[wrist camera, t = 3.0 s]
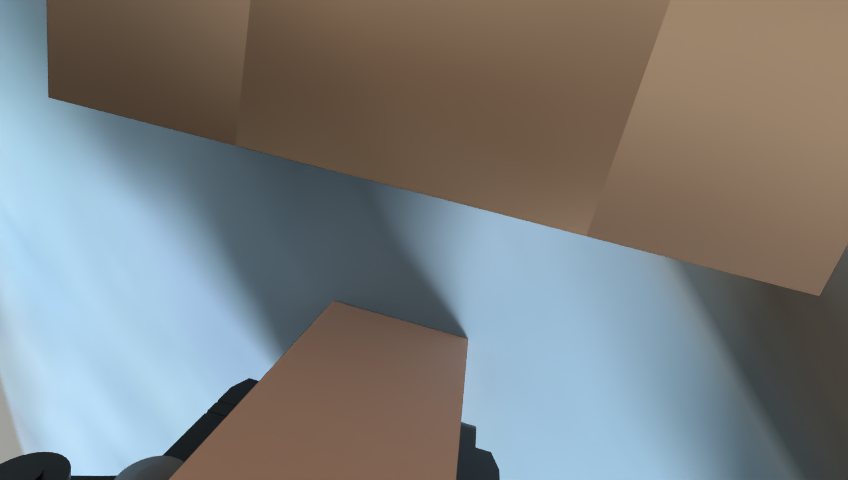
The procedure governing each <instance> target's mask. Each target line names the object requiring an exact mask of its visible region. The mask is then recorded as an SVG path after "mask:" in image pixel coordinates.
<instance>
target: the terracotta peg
mask: <svg viewBox="0 0 848 480" xmlns="http://www.w3.org/2000/svg"><path fill="white" fill-rule="evenodd" d="M467 346H468V339H467V338H463V337H460V336H456V335H453V334H449V333H445V332H442V331H438V330H435V329H431V328H428V327H424V326H421V325H417V324H414V323H410V322H407V321H403V320H400V319H396V318H393V317H389V316H386V315H382V314H379V313H375V312H372V311H368V310H365V309H361V308H358V307H354V306H350V305H347V304H343V303H340V302H336V301H332V302H331V303H330V305H329V306H328V307H327V308H326V309H325V310H324V311H323V312H322V313H321V314H320V315H319V316H318V318H317V319H316V320H315V321H314V322H313V323H312V324H311V325H310V326H309V327H308V328H307V330H306V331H305V332H304V333H303V334H302V335H301V336H300V337H299V338H298V339H297V340H296V342H295V343H294V344H293V345H292V346H291V347H290V348H289V349H288V350H287V351H286V352H285V354H284V355H283V356H282V357H281V358H280V359H279V360H278V361H277V362H276V363H275V364H274V366H273V367H272V368H271V369H270V370H269V371H268V372H267V373H266V374H265V375H264V376H263V378H262V379H261V380H260V381H259V382H258V383H257V384H256V385H255V386H254V387H253V388H252V390H251V391H250V392H249V393H248V394H247V395H246V396H245V397H244V398H243V399H242V400H241V402H240V403H239V404H238V405H237V406H236V407H235V408H234V409H233V410H232V411H231V412H230V414H229V415H228V416H227V417H226V418H225V419H224V420H223V421H222V422H221V423H220V424H219V426H218V427H217V428H216V429H215V430H214V431H213V432H212V433H211V434H210V435H209V436H208V437H207V439H206V440H205V441H204V442H203V443H202V444H201V445H200V446H199V447H198V448H197V449H196V451H195V452H194V453H193V454H192V455H191V456H190V457H189V458H188V459H187V460H186V461H185V463H184V464H183V465H182V466H181V467H180V468H179V469H178V470H177V471H176V472H175V473H174V475H173V476H172V477H171V478H170V479H169V480H456V474H457V462H458V451H459V439H460V427H461V416H462V404H463V393H464V381H465V370H466V358H467Z"/></svg>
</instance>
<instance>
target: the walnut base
mask: <svg viewBox="0 0 848 480" xmlns="http://www.w3.org/2000/svg"><path fill="white" fill-rule="evenodd" d="M47 46H48V95H49V98H53V99H57V100H61V101H65V102H69V103H73V104H76V105H80V106H84V107H88V108H92V109H96V110H100V111H104V112H107V113H111V114H115V115H119V116H123V117H127V118H131V119H135V120H138V121H142V122H146V123H150V124H154V125H158V126H162V127H166V128H169V129H173V130H177V131H181V132H185V133H189V134H193V135H197V136H200V137H204V138H208V139H212V140H216V141H220V142H224V143H227V144H231V145H235V146H239V147H243V148H247V149H251V150H255V151H258V152H262V153H266V154H270V155H274V156H278V157H282V158H286V159H289V160H293V161H297V162H301V163H305V164H309V165H313V166H317V167H320V168H324V169H328V170H332V171H336V172H340V173H344V174H348V175H351V176H355V177H359V178H363V179H367V180H371V181H375V182H379V183H382V184H386V185H390V186H394V187H398V188H402V189H406V190H410V191H413V192H417V193H421V194H425V195H429V196H433V197H437V198H441V199H444V200H448V201H452V202H456V203H460V204H464V205H468V206H472V207H475V208H479V209H483V210H487V211H491V212H495V213H499V214H503V215H506V216H510V217H514V218H518V219H522V220H526V221H530V222H534V223H537V224H541V225H545V226H549V227H553V228H557V229H561V230H565V231H568V232H572V233H576V234H580V235H584V236H588V237H592V238H596V239H599V240H603V241H607V242H611V243H615V244H619V245H623V246H627V247H630V248H634V249H638V250H642V251H646V252H650V253H654V254H658V255H661V256H665V257H669V258H673V259H677V260H681V261H685V262H689V263H692V264H696V265H700V266H704V267H708V268H712V269H716V270H720V271H723V272H727V273H731V274H735V275H739V276H743V277H747V278H751V279H754V280H758V281H762V282H766V283H770V284H774V285H778V286H782V287H785V288H789V289H793V290H797V291H801V292H805V293H809V294H812V295H816V296H820V294H821V292H822V290H823V288H824V287H825V285H826V283H827V281H828V279H829V277H830V276H831V274H832V272H833V270H834V268H835V266H836V265H837V263H838V261H839V259H840V257H841V255H842V254H843V252H844V250H845V248H846V246H847V244H848V0H47Z"/></svg>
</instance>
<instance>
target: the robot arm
mask: <svg viewBox="0 0 848 480" xmlns="http://www.w3.org/2000/svg"><path fill="white" fill-rule="evenodd" d="M258 382H259V381H257V380H253V379H250V378H249V379H247V380H245V381H243V382H241V383H239V384H237V385H235V386H233V387H231V388H230V389H229V390H228V391H227V392H226V393H225V394H224V395H223V396H222V397H221V398H220V399H219V400H218V402H217V403H215V404H214V405H213V406H212V407H211V408H210V409H209V410H208V411H207V413H206V414H204V415H203V416H202V417H201V418H200V419H199V420H198V421H197V422H196V423H195V424H194V425H193V426H192V427H191V428H190V429H189V430H188V431H187V432H186V433H185V434H184V435H183V436H182V437H181V438H180V439H179V440H178V441H177V442H176V443H175V444H174V445H173V446H172V447H171V448H170V449H169V450H168V451H167V452H166V453H165V454H164V455H162V456H155V457H150V458H146V459H143V460H140V461H138V462H136V463H134V464H132V465H130V466H129V467H127V468H126V469H124V470H123V471H122V472H121V473H120V474H119V475H117V476H71V465H70V462H69V461H68V459H67V458H66V457H64V456H63V455H60V454H58V453H52V452H37V453H31V454H26V455H22V456H19V457H16V458H13V459H10V460H8V461H6V462H4V463H2V464H0V480H169V479H170V478H171V477H172V476H173V475H174V473H175V472H176V471H177V470H178V469H179V468H180V467H181V466H182V465H183V464H184V463H185V461H186V460H187V459H188V458H189V457H190V456H191V455H192V454H193V453H194V452H195V451H196V449H197V448H198V447H199V446H200V445H201V444H202V443H203V442H204V441H205V440H206V439H207V437H208V436H209V435H210V434H211V433H212V432H213V431H214V430H215V429H216V428H217V427H218V426H219V424H220V423H221V422H222V421H223V420H224V419H225V418H226V417H227V416H228V415H229V414H230V412H231V411H232V410H233V409H234V408H235V407H236V406H237V405H238V404H239V403H240V402H241V400H242V399H243V398H244V397H245V396H246V395H247V394H248V393H249V392H250V391H251V390H252V388H253V387H254V386H255V385H256V384H257V383H258ZM475 444H476V427H475V426H472V425H469V424H466V423H463V422H461V427H460V439H459V451H458V462H457V474H456V480H500V479H499V469H498V466H497V464H496V462H495V460H494V458H493V456H492V454H491V452H488V451H485V450H482V449H478V448H475Z"/></svg>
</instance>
